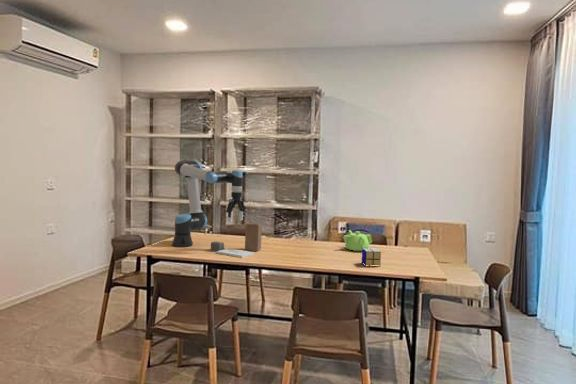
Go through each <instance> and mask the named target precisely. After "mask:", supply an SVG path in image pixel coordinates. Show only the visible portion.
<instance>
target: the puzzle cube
mask: <svg viewBox="0 0 576 384" xmlns="http://www.w3.org/2000/svg"><path fill="white" fill-rule="evenodd" d="M381 257H382V252H381V251H380V250H379V249H378V248H368V249H362V251H361V264H362V263H364V264H365V265H380V266H381V259H382V258H381ZM365 265H364V266H365Z"/></svg>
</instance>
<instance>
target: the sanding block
mask: <svg viewBox="0 0 576 384" xmlns="http://www.w3.org/2000/svg"><path fill="white" fill-rule="evenodd" d="M224 249H225V243H224V242H222V241H211V242H210V251H212V252H217V251H220V250H224Z"/></svg>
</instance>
